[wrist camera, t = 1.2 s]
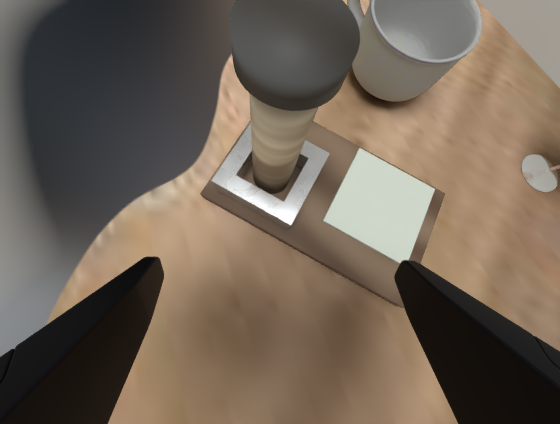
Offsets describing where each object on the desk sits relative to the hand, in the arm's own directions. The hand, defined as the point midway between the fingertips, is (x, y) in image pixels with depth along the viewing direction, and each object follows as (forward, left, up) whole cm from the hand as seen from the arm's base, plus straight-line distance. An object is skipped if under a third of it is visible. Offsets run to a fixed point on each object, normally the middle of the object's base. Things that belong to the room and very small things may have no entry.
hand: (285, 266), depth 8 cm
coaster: (+10, -7, -12) cm, 18 cm away
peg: (+7, +4, -12) cm, 15 cm away
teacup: (+27, 0, -14) cm, 31 cm away
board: (+9, -2, -13) cm, 16 cm away
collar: (+7, +4, -12) cm, 15 cm away
